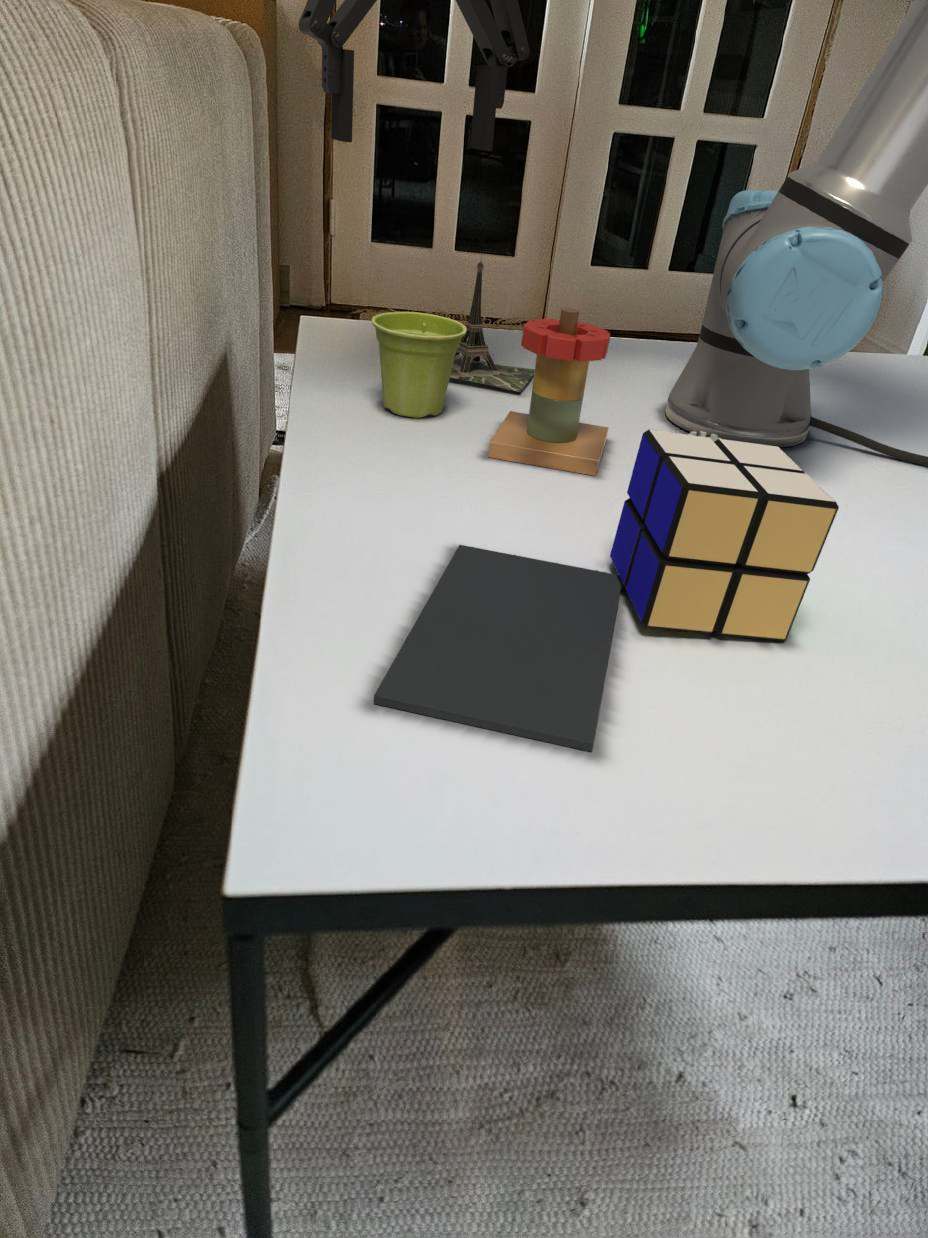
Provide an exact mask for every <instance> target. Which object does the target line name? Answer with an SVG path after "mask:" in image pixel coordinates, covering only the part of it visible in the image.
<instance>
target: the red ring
mask: <svg viewBox="0 0 928 1238" xmlns="http://www.w3.org/2000/svg"><path fill="white" fill-rule="evenodd" d="M559 322H560V319H559V320H558V319H555V318H540V319H539V318H538V319H532V320H527V321H526V323H525V324H524V325H523V327H522V335H521V342H520V343H521V344H520V346H521V347H522V348H523V349H524V350H526V351H529V352H531V353H533V354H535V355H536V356H537V355H545V357H548V358H554V359H560V360H567V361H573V360H577V361H579V362H583V361H589V362H594V361H595V362H597V361H602V360H605V359H606V356H607V354H608V351H609V345H610V339H611V332H609V331H608V330H607V329H604V328H601V327H599V326H596V325H594V324H587V323H586V322H582V321H578V323H577V329H576V335H569V334H562V333H558V329H559Z"/></svg>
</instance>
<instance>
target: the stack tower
mask: <svg viewBox="0 0 928 1238" xmlns="http://www.w3.org/2000/svg"><path fill="white" fill-rule="evenodd" d="M579 316H580V310H578V309H576V308H572V307H563V308H561V310H560V315H559V320H560V322H559V329H558V333H562V334H569V335H576V329H577V323H578V322H579ZM589 366H590V361H583V362H579V361H577V360H573V361H567V360H560V359H554V358H548V357H545V355H537V354H536V359H535V366H534V369H535V373H534V374H533V381H532V388H531V394H530V395H531V396H530V404H529V410H528V413H524V412H519V411H512V410H509V412H508V413H507V415H506V417H505V418H504V419H503V421H502V423H501V424H500V426H499V428H498V429H497V431H496V432H495V433H494V435H493V437H492V438H491V439H490V441H489V444H488V445H489V446H488V454H487V457H488V458H491V459H495V460H496V459H497V460H502V461H508V462H513V463H518V464H519V463H520V464H526V465H531V466H537V467H542V468H547V469H553V470H559V471H564V472H565V471H566V472H572V473H577V474H582V475H586V476H587V475H588V476H593V477H596V476H597V473H598V469H599V465H600V463H601V459H602V456H603V453H604V450H605V446H606V442H607V440H608V439H607V438H608V433H609V427H608V426H602V425H598V424H597V425H596V424H591V423H584V422H581V421H580V420H581V414H582V408H583V402H584V397H585V390H586V384H587V377H588V371H589Z"/></svg>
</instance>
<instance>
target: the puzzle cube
mask: <svg viewBox="0 0 928 1238" xmlns="http://www.w3.org/2000/svg"><path fill="white" fill-rule="evenodd" d="M626 493H627V495H628V498H626V499H625V500H624V502H623V506H622V510H621V513H620V517H619V520H618V525H617V528H616V530H615V531H616V532H615V535H614V539H613V541H612V542H613V543H612V547H611V551H610V554H609V557H610V560H611V561H612V564H613V566H614V568H615V570H616V572H617V575H619V576H620V578H621V580H622V586H624V587H625V591H626V594H627V595H628V597H629V600H630V602H631V604H632V606H633V608H634V610H635V612H636V614H637V616H638V618H639V621H640V623H641V624H642V626H643V627H644V628H645V629H656V630H658V629H659V630H666V631H667V630H668V631H678V632H687V633H688V632H689V633H697V634H707V635H708V634H712V633H713V632H714V631H715V632H716V633H717V636H727V637H737V638H748V639H759V640H769V641H778V642H779V641H780V642H782V641H785V640H786V639H787V638H788V637H789V635H790V632H791V629H792V627H793V623H794V621H795V618H796V616H797V614H798V612H799V608H800V607H801V604H802V601H803V599H804V597H805V594H806V592H807V588H808V586H809V583H810V581H811V577H810V575H809V574H811V573H812V572H813V571H814V570H815V568H816V565H817V563H818V561H819V558H820V556H821V553H822V550H823V548H824V546H825V544H826V540H827V538H828V536H829V533H830V531H831V529H832V526H833V523H834V521H835V519H836V517H837V514H838V511H839V508H840V506H839V505H838V502H837V501H836V500H835V499H834V498H833V497H832V496H831V495H829V493H828V492H826V491H825V489H823V488H822V487H821V486H820V485H819V484H818V483H817V482H816V481H815V480H814V479H813V478H812V477H811V476H810V475H809V474H808V473H805V472H804V469H802V468H801V467H800V466H799V465H798V464H797V463H796V462H795V461H794V460H793V459H792V458H791V457H790V456H789V455H788V454H786V453H785V451H783V450H782V449H781V447H777V446H769V445H762V444H755V443H747V442H740V441H732V440H725V439H717V440H716V441H714V442H713V441H712V440H711V438H709V437H702V436H699V435H696V436H694V435H688V434H686V433H679V432H671V431H666V430H665V431H663V430H658V429H657V430H656V429H647V430H646V431H644V432H642V436H641V438H640V443H639V447H638V450H637V454H636V457H635V462H634V465H633V469H632V472H631V476H630V479H629V484H628V487H627V491H626Z"/></svg>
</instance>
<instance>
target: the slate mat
mask: <svg viewBox="0 0 928 1238" xmlns="http://www.w3.org/2000/svg"><path fill="white" fill-rule="evenodd" d="M622 586H623V583H622V580H621V578H620V576H619V574H617V573H610V572H604V571H599V570H595V569H589V568H584V567H579V566H573V565H568V564H564V563H558V562H553V561H548V560H542V559H537V558H532V557H526V556H522V555H516V554H511V553H505V552H500V551H495V550H489V549H486V548H485V549H484V548H479V547H473V546H468V545H463V544H458V546H457V548H456V550H455V552H454V553H453V556H452V557H451V559H450V561H449V563H448V564H447V565H446V567H445V569H444V571H443V573H442V575H441V576H440V579H439V580H438V582H437V583H436V585H435V586H434V589H433V591H431V592H432V593H431V594H430V596H429V597H428V600H427V601H426V603H425V605H424V606H423V608H422V610H421V612H420V614H419V615H418V617H417V619H416V620H415V622H414V623H413V626H412V627H411V630H410V631H409V633H408V635H407V636H406V638H405V640H404V641H403V643H402V645H401V646H400V649H399V651H398V653H397V654H396V656H395V657H394V659H393V661H392V663H391V665H390V666H389V669H387V672H386V673H385V675H384V676H383V678H382V680H381V683H380V684H379V686H378V688H377V689H376V690H375V693H374V694H373V704H374V705H378V706H383V707H387V708H391V709H396V710H401V711H405V712H410V713H414V714H415V713H416V714H419V715H424V716H428V717H431V718H436V719H442V720H446V721H450V722H454V723H459V724H463V725H464V724H465V725H469V726H474V727H478V728H482V729H487V730H490V731H496V732H500V733H503V734H504V733H505V734H510V735H512V736H513V735H514V736H518V737H523V738H528V739H531V740H536V741H541V742H544V743H545V742H546V743H551V744H554V745H559V746H563V747H564V746H565V747H568V748H571V749H572V748H573V749H578V750H581V751H587V752H592V751H593V747H594V742H595V736H596V732H597V726H598V719H599V715H600V709H601V703H602V698H603V697H602V696H603V692H604V687H605V680H606V676H607V669H608V664H609V659H610V653H611V648H612V643H613V642H612V641H613V636H614V629H615V626H616V625H615V624H616V619H617V613H618V608H619V602H620V597H621V592H622Z"/></svg>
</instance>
